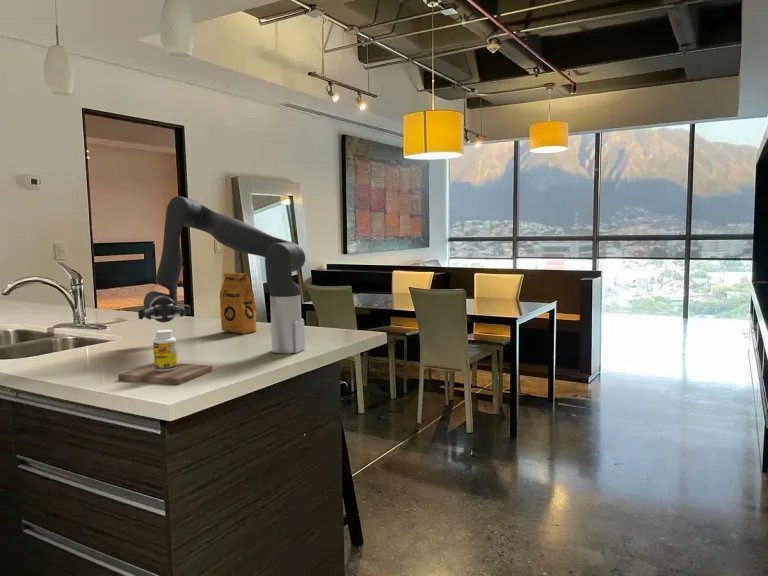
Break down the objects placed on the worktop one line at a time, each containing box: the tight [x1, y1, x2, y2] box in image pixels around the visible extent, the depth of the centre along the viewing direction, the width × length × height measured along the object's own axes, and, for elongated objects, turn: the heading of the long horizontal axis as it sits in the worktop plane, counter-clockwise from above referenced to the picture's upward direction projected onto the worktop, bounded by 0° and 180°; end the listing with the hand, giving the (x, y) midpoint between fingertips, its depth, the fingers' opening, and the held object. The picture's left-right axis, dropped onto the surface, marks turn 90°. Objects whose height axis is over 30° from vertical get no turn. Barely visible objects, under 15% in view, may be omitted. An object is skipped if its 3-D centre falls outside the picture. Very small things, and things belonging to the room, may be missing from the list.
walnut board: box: [117, 362, 213, 386], centre depth 150 cm, size 18×14×2 cm
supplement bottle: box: [152, 329, 178, 372], centre depth 150 cm, size 6×6×10 cm
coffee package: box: [219, 272, 257, 335], centre depth 213 cm, size 10×12×22 cm
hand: (165, 314), depth 163 cm, fingers open, 8 cm apart
